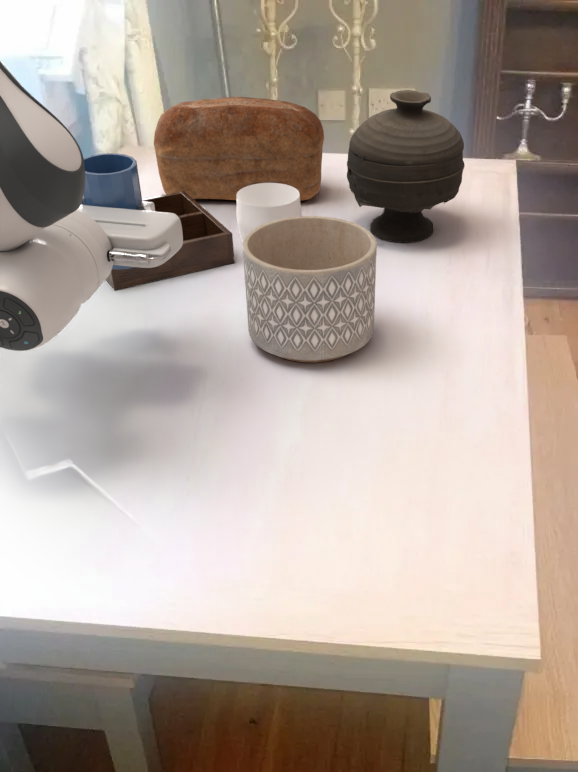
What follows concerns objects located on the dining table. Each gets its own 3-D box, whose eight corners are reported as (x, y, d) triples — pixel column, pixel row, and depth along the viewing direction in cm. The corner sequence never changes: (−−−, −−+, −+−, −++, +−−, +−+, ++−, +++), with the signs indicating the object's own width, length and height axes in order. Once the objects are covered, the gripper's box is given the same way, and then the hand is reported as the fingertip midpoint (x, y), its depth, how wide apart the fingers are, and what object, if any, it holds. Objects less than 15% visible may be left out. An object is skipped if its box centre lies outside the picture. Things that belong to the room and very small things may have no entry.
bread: (323, 208, 150) (322, 114, 140) (156, 205, 150) (143, 112, 140) (326, 181, 158) (325, 91, 148) (168, 179, 159) (156, 89, 149)
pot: (468, 207, 148) (477, 74, 133) (450, 262, 137) (457, 124, 122) (363, 199, 152) (359, 69, 137) (337, 252, 141) (330, 117, 125)
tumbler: (104, 274, 107) (86, 178, 99) (86, 252, 111) (68, 159, 104) (157, 262, 110) (144, 168, 102) (138, 241, 114) (124, 149, 106)
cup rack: (114, 290, 128) (108, 259, 125) (75, 242, 140) (68, 212, 137) (234, 262, 135) (232, 233, 132) (187, 218, 146) (184, 190, 143)
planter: (399, 340, 118) (404, 245, 109) (303, 384, 110) (300, 285, 101) (318, 296, 127) (317, 205, 118) (224, 334, 119) (215, 239, 110)
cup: (276, 299, 126) (271, 212, 118) (228, 281, 130) (221, 197, 122) (315, 276, 132) (314, 192, 123) (268, 260, 135) (264, 177, 127)
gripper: (156, 233, 94) (196, 184, 103) (-25, 216, 96) (30, 170, 106) (164, 291, 98) (202, 239, 108) (-10, 273, 101) (42, 224, 110)
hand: (115, 205), depth 107 cm, fingers closed on tumbler, 7 cm apart
